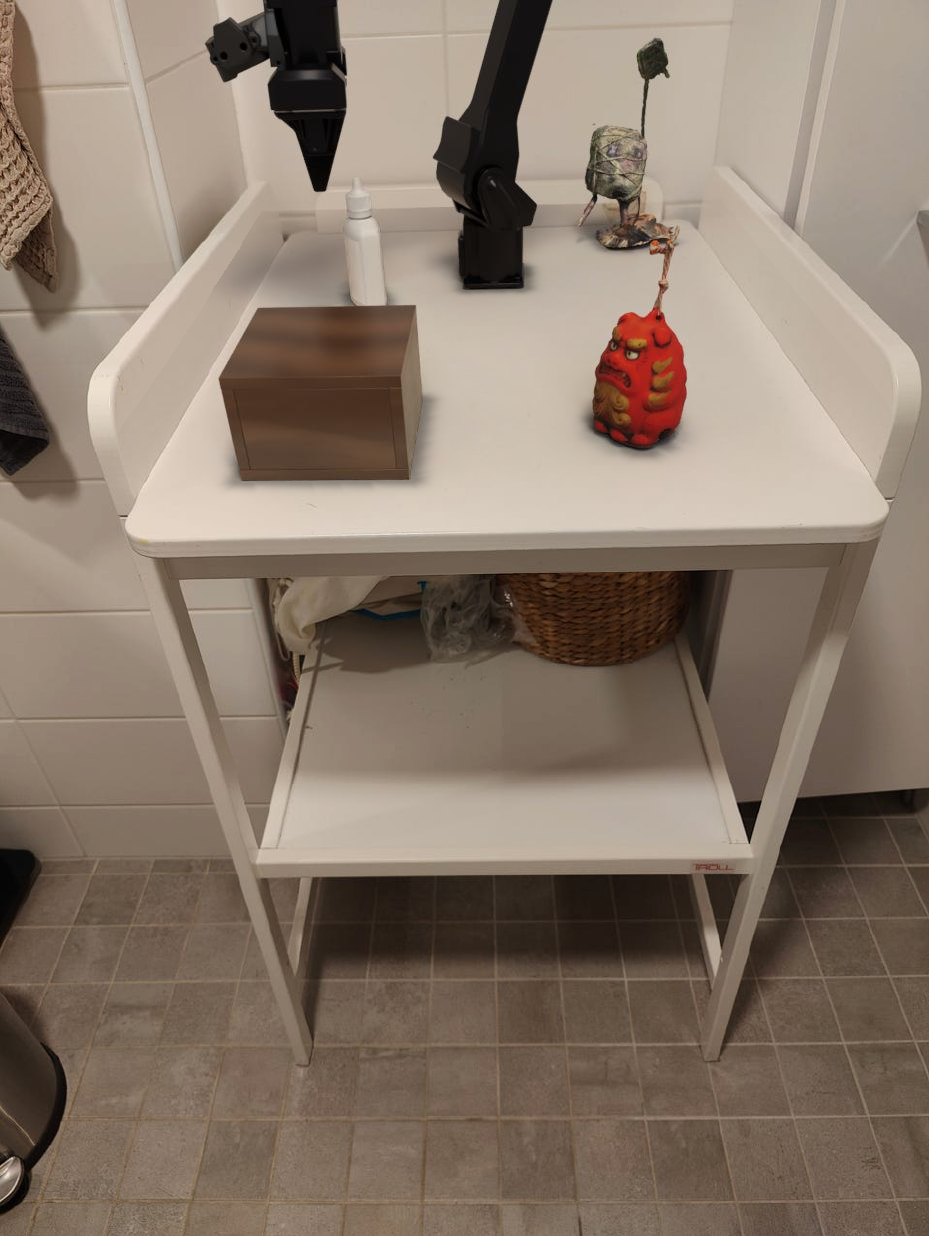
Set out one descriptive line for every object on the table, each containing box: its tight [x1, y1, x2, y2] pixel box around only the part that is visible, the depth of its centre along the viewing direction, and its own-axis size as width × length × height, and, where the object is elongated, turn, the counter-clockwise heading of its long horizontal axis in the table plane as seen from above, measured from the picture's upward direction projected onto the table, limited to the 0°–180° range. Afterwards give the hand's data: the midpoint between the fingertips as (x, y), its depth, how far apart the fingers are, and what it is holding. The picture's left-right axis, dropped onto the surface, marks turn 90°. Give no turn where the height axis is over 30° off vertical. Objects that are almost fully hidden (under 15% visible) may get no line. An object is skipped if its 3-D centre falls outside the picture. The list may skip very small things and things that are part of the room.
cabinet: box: [217, 304, 423, 481], centre depth 71 cm, size 13×13×8 cm
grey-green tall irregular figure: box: [577, 36, 675, 249], centre depth 101 cm, size 8×11×20 cm
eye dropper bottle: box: [342, 176, 388, 306], centre depth 92 cm, size 4×6×12 cm
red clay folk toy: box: [591, 225, 688, 449], centre depth 68 cm, size 8×7×15 cm
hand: (321, 178), depth 86 cm, fingers open, 9 cm apart
